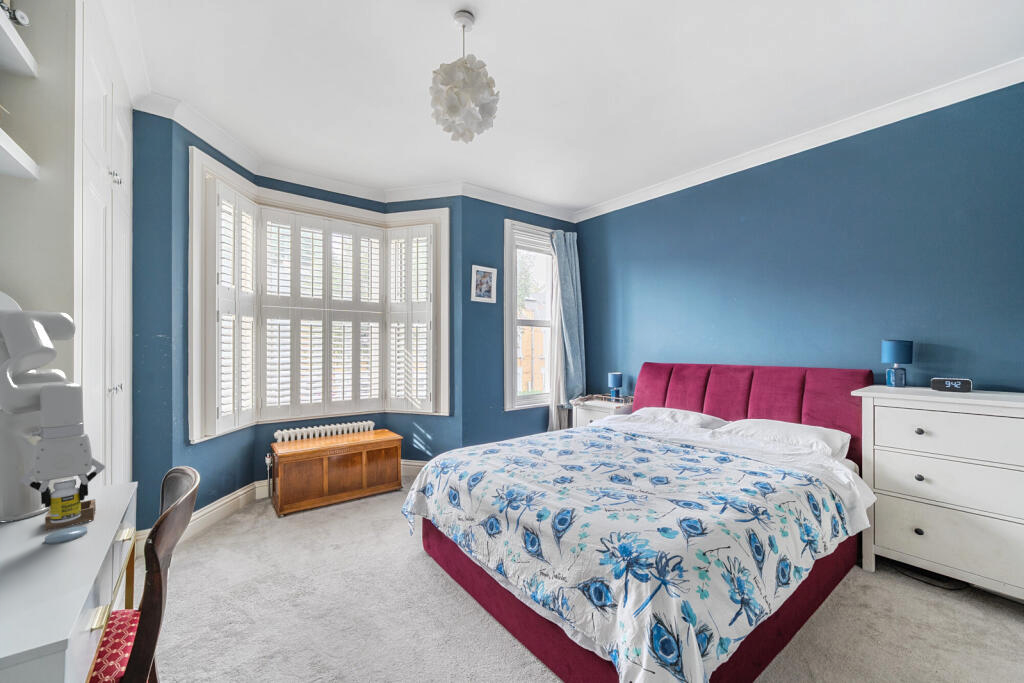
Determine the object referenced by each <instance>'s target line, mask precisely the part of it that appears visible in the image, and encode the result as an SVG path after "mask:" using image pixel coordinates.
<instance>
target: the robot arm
mask: <svg viewBox="0 0 1024 683" xmlns="http://www.w3.org/2000/svg"><path fill="white" fill-rule="evenodd" d="M75 333H76V324H75V322H74V320H73V318H72V317H71V316H70V315H69V314H68V313H65V312H61V311H59V312H58V311H49V310H20V309H19V310H18V309H0V522H1V521H9V522H14V521H13V520H15V521H19V520H23V519H28V518H32V517H34V516H37V515H40V514H42V513H45V512H48V511H49V509H50V494H51V493H52V489H50V486H49V485H50V482H51V481H53V480H59V479H66V478H71V477H78V479H79V480H80V483H79V487H78V488H79V489H80V500H81V502H83V501H85V498H86V497H87V496H88V497H89V483H90V482H91V481H92V480H93V479H94V478H95V477H96V476H97V475H99V474H100V473H101V472H102V471H104V470H105V469H106V465H105V464H103V463H101V462H100V461H98V460H97V459H95V458H94V457H93V453H92V446H91V442H90V439H89V438H90V437H89V435H88V433H85V427H84V426H85V424H84V405H83V404H84V402H83V401H84V400H83V397H84V396H83V387H82V385H80V384H79V383H76V382H75V383H74V382H72V381H69V380H68V377H67V375H66V374H65V372H64V371H62V370H60V369H59V368H42V367H44V366H47V365H49V364H50V363H52V362H53V361H55V359H56V358H57V355H58V354H57V349H56V348H55V344H54V343H53V342H54V341H57V342H58V341H69V340H71V339H72V338H73V337H74V336H75ZM34 437H40V439H38V440H36V443H33V442H31V441H30V440H29V439H30V438H34ZM93 467H94V468H95V469H94V470H92V468H93ZM89 472H90V473H89ZM88 473H89V474H88ZM11 520H12V521H11Z"/></svg>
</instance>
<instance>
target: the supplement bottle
mask: <svg viewBox="0 0 1024 683" xmlns="http://www.w3.org/2000/svg"><path fill="white" fill-rule="evenodd" d="M76 485H77V478H68V479H66V478H65V479H63V480H62V479H61V480H58V481H55V482H53V491H51V494H50V520H51V522H52V523H62V522H67V521H71V520H74V519H76V518H78V517H80V515H81V502H82V501H81V500H80V489H79V487H78V486H76Z"/></svg>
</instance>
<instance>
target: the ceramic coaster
mask: <svg viewBox="0 0 1024 683" xmlns="http://www.w3.org/2000/svg"><path fill="white" fill-rule="evenodd" d="M87 533H88V527H87V526H84V525H83V526H81V525H80V526H72V527H69V528H67V527H66V528H63V529H59V530H57V531H54V532H52V533H49V534H48V535H46V536H45V537H44V543H45V544H46V545H55V544H62V543H66V542H69V541H73V540H76V539H79V538H81V537H83V536H85V535H86V534H87Z"/></svg>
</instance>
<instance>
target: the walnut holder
mask: <svg viewBox="0 0 1024 683" xmlns="http://www.w3.org/2000/svg"><path fill="white" fill-rule="evenodd" d="M95 511H96V512H97V509H96V498H93V499H90V500H83V501H81V515H80V517H78V518H76V519H74V520H71V521H67V522H62V523H52V522H51V520H50V509H49V510H47V513H46V514H45V517H44V522H45V523H44V524H45V531H46V532H47V531H52V530H56V529H59V528H64V527H68V526H69V525H70V526H73V525H72V524H74V525H77V524H76V523H79V524H81V523H80V522H84V523H86V522H85V521H88V522H90V521H89V520H93V521H95V516H96V512H95ZM94 515H95V516H94Z"/></svg>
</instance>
